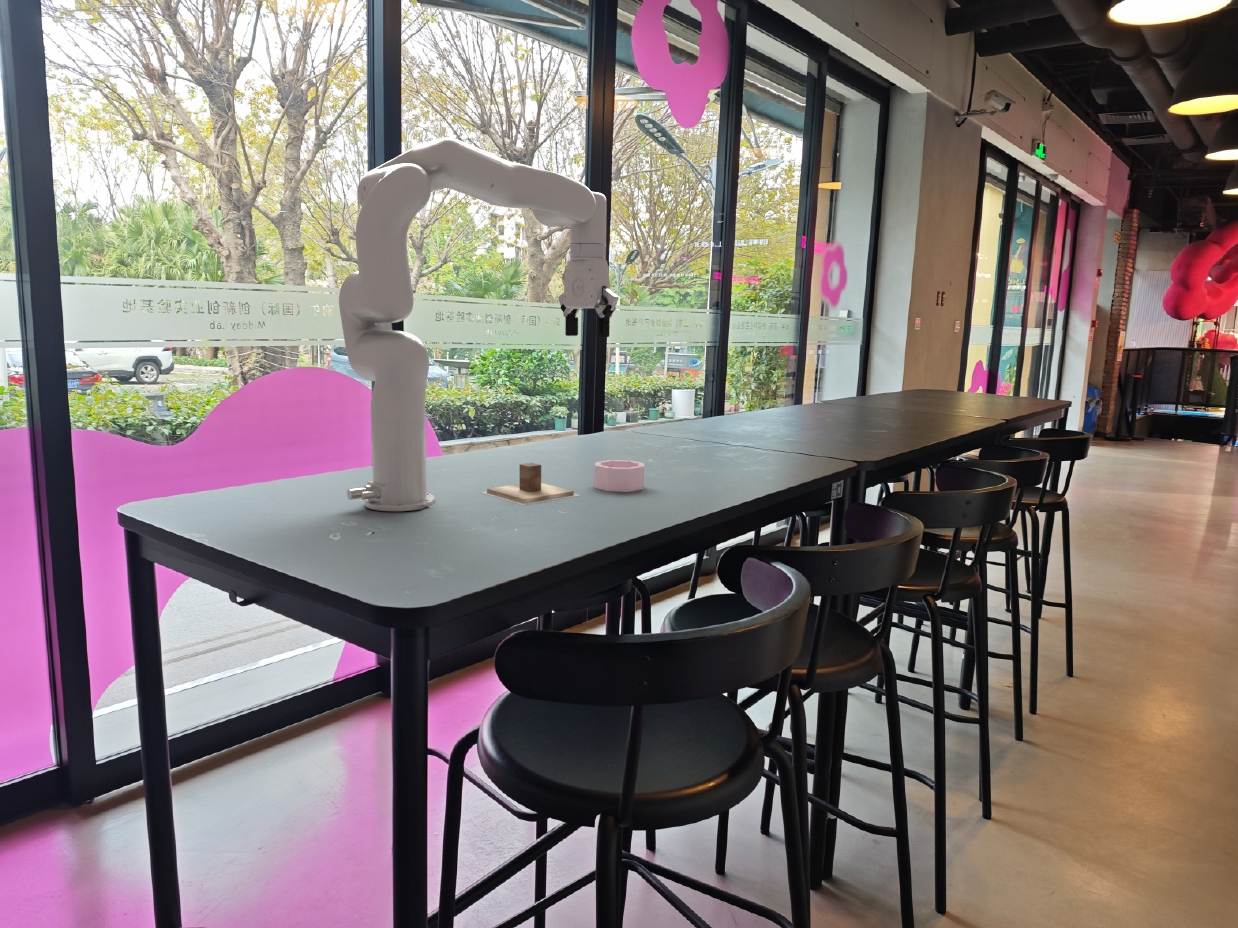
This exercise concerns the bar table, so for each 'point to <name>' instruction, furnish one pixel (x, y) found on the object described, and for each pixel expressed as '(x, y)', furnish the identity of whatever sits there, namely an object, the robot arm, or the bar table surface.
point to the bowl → (619, 475)
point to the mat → (529, 502)
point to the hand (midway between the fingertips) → (587, 336)
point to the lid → (530, 487)
